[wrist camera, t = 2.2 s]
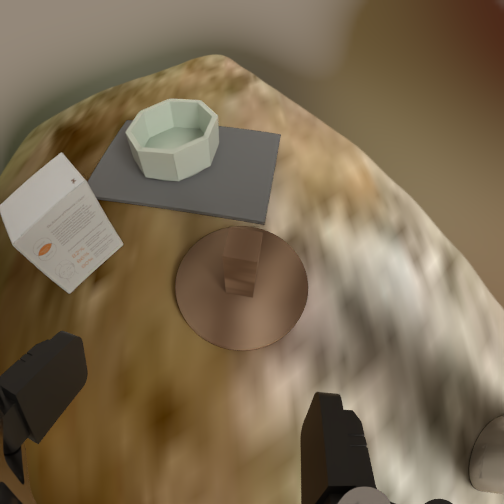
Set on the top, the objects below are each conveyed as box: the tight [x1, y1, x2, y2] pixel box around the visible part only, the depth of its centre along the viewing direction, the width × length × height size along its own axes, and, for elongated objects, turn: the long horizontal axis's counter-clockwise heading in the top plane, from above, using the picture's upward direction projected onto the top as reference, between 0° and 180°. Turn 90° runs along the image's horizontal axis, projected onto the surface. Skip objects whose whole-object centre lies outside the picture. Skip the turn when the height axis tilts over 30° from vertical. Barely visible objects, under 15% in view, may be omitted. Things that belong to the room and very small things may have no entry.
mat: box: [88, 120, 281, 225], centre depth 35 cm, size 22×14×1 cm, turn 80°
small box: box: [0, 152, 123, 294], centre depth 25 cm, size 8×6×10 cm
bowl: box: [125, 99, 219, 181], centre depth 33 cm, size 10×10×5 cm
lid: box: [175, 226, 308, 351], centre depth 25 cm, size 12×12×8 cm
